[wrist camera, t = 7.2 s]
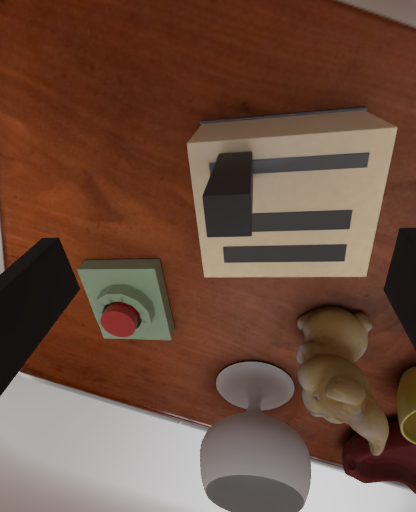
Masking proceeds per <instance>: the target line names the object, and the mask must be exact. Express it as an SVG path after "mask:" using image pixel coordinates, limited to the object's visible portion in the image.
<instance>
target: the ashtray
mask: <svg viewBox="0 0 416 512" xmlns="http://www.w3.org/2000/svg"><path fill="white" fill-rule="evenodd" d="M388 426H389V435H388V438H387V441H386V444H385V447H384V450H383V452H382V453H381V454H380V455H378V456H374V455H373V454H372V453H371V452H370V446H369V441H368V440H367V439H366V438H364V437H362V436H361V435H360V434H358V433H357V434H355V435H354V436H351V437H349V438H348V442H347V444H346V445H345V447H344V448H343V453H342V462H343V467H344V471H345V473H346V474H347V475H349V476H352V477H354V478H356V479H357V480H359V481H361V482H363V483H372V482H381V481H397V482H401V483H404V484H406V485H407V486H408V487H409V488H410V489H411V490H412V491H413V492H414V493H415V494H416V444H414V443H412V442H410V441H408V440H407V439H406V438H405V437H404V436H403V435H402V433H401V429H400V425H399V420H397V421H394V422H391V423H388Z"/></svg>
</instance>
